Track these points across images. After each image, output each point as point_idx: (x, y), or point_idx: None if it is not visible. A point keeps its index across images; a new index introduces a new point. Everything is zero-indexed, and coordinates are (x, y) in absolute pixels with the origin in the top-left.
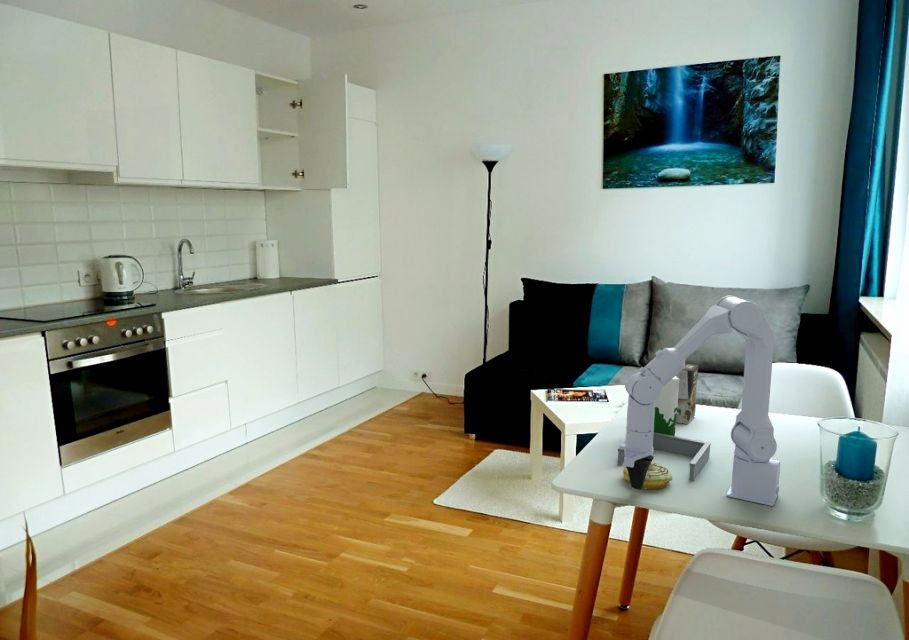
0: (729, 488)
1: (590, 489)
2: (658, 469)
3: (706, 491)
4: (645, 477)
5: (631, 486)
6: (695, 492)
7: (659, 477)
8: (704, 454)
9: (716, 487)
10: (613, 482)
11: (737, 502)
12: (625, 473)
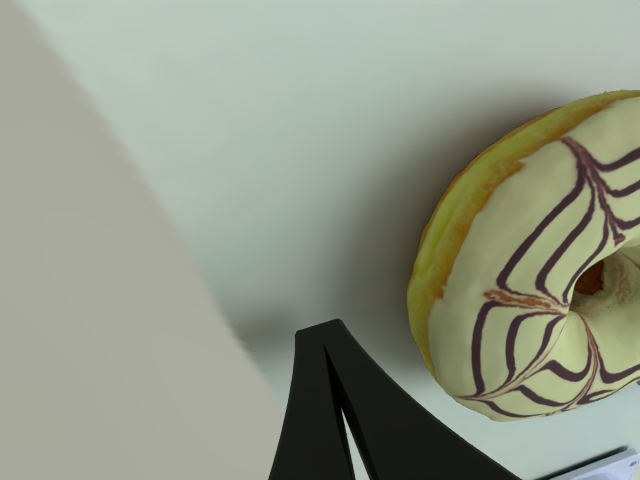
0: (581, 476)
1: (53, 7)
2: (610, 376)
3: (536, 441)
4: (447, 380)
5: (296, 340)
6: (507, 431)
7: (496, 420)
8: None
9: (588, 435)
10: (387, 95)
11: None
12: (486, 191)
